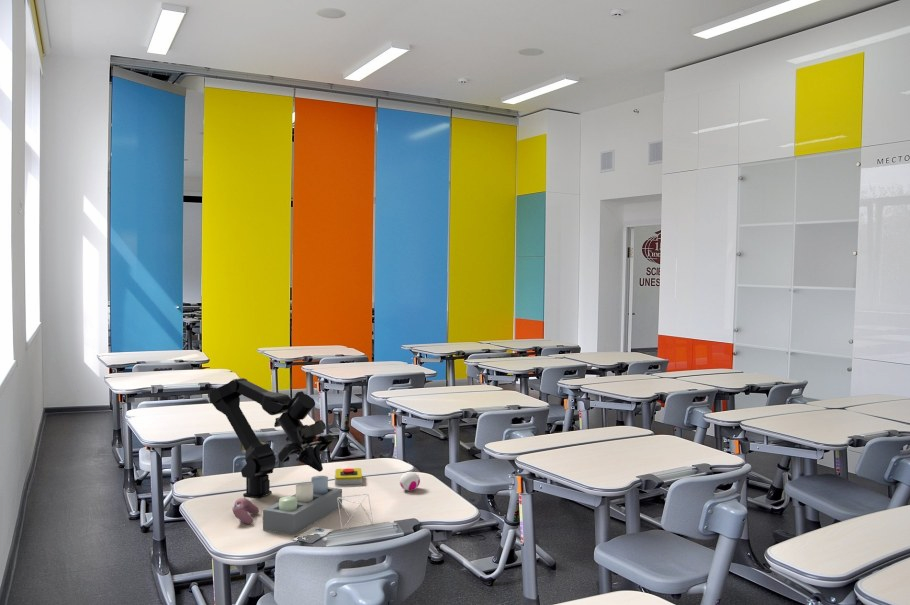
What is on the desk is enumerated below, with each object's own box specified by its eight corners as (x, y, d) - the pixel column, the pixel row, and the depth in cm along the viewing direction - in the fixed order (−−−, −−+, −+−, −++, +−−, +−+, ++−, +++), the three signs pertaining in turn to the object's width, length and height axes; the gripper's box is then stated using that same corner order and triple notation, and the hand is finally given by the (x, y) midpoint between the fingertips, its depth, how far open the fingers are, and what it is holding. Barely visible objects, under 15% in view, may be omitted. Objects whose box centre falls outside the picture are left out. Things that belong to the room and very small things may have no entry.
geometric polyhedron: (334, 520, 196) (334, 494, 196) (365, 516, 200) (365, 490, 200) (344, 533, 187) (344, 505, 186) (376, 528, 190) (376, 501, 190)
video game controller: (246, 518, 201) (235, 497, 201) (260, 511, 202) (249, 490, 201) (239, 530, 192) (227, 508, 191) (254, 523, 192) (242, 501, 191)
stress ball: (407, 503, 222) (416, 488, 220) (391, 486, 226) (400, 471, 223) (421, 496, 229) (430, 482, 226) (405, 480, 232) (414, 465, 230)
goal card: (292, 540, 181) (292, 538, 181) (313, 528, 190) (313, 525, 190) (312, 543, 178) (312, 541, 178) (332, 531, 188) (332, 528, 188)
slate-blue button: (308, 496, 204) (308, 479, 204) (317, 492, 209) (317, 474, 208) (322, 498, 202) (322, 480, 202) (330, 494, 207) (330, 476, 207)
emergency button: (334, 475, 228) (334, 463, 243) (334, 488, 228) (334, 476, 243) (363, 474, 230) (361, 462, 245) (363, 487, 230) (361, 475, 245)
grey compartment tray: (262, 529, 188) (262, 509, 188) (313, 503, 212) (313, 485, 211) (294, 534, 185) (294, 514, 184) (341, 507, 208) (342, 489, 208)
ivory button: (292, 504, 197) (292, 486, 196) (302, 499, 201) (302, 481, 201) (306, 506, 195) (307, 488, 195) (316, 501, 199) (316, 483, 199)
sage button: (275, 519, 189) (275, 500, 189) (285, 514, 194) (285, 495, 194) (290, 522, 187) (290, 502, 187) (300, 516, 192) (300, 497, 192)
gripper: (285, 417, 199) (313, 461, 194) (329, 408, 215) (356, 448, 210) (266, 441, 204) (293, 484, 198) (310, 430, 220) (337, 469, 214)
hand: (321, 470), depth 205 cm, fingers closed
